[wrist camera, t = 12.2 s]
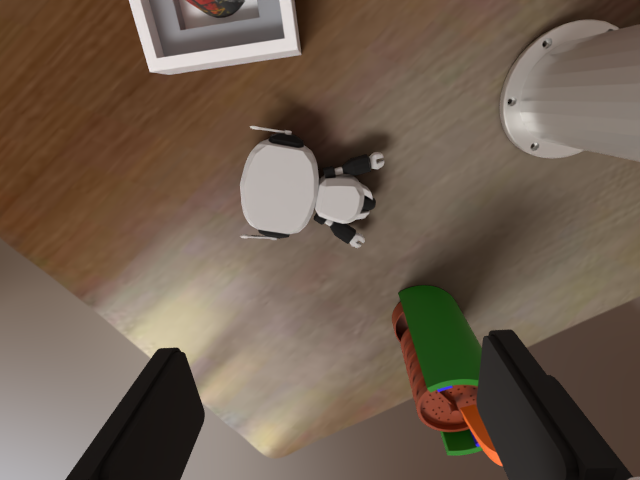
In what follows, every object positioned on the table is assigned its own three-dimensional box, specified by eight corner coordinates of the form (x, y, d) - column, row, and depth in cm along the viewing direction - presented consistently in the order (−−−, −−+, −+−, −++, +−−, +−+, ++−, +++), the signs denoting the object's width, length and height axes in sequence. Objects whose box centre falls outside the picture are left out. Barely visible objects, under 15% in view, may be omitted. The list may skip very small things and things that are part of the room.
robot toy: (383, 145, 38) (250, 121, 36) (393, 151, 34) (243, 124, 32) (359, 242, 42) (241, 224, 41) (365, 258, 38) (234, 239, 37)
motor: (376, 303, 45) (407, 446, 26) (437, 271, 43) (517, 403, 24) (412, 353, 48) (461, 512, 30) (470, 326, 46) (563, 480, 27)
